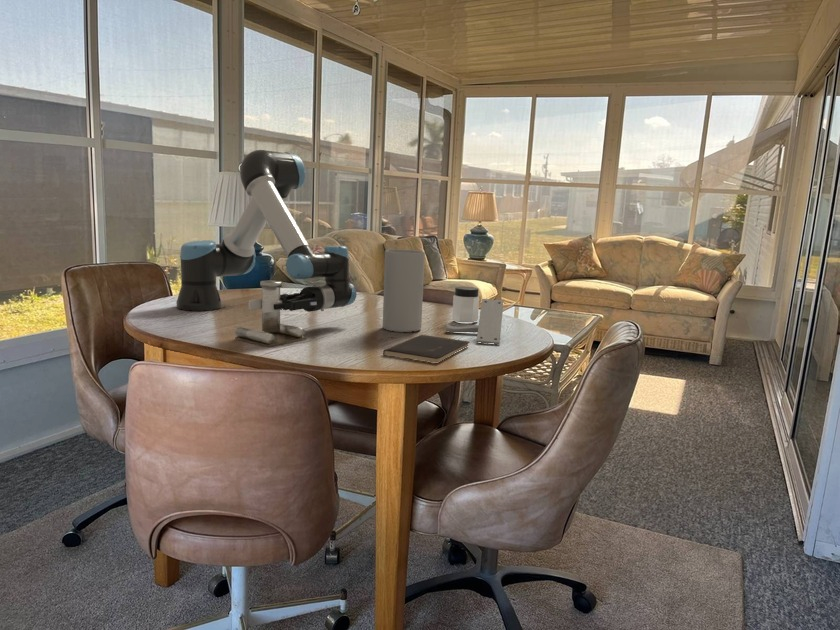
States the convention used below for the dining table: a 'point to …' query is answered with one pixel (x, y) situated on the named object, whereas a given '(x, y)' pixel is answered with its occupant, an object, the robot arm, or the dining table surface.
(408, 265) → the cylinder vase
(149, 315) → the dining table surface
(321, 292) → the robot arm
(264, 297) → the hinge pin
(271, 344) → the hinge leaf
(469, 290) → the jar
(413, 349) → the hardcover book
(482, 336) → the door handle
